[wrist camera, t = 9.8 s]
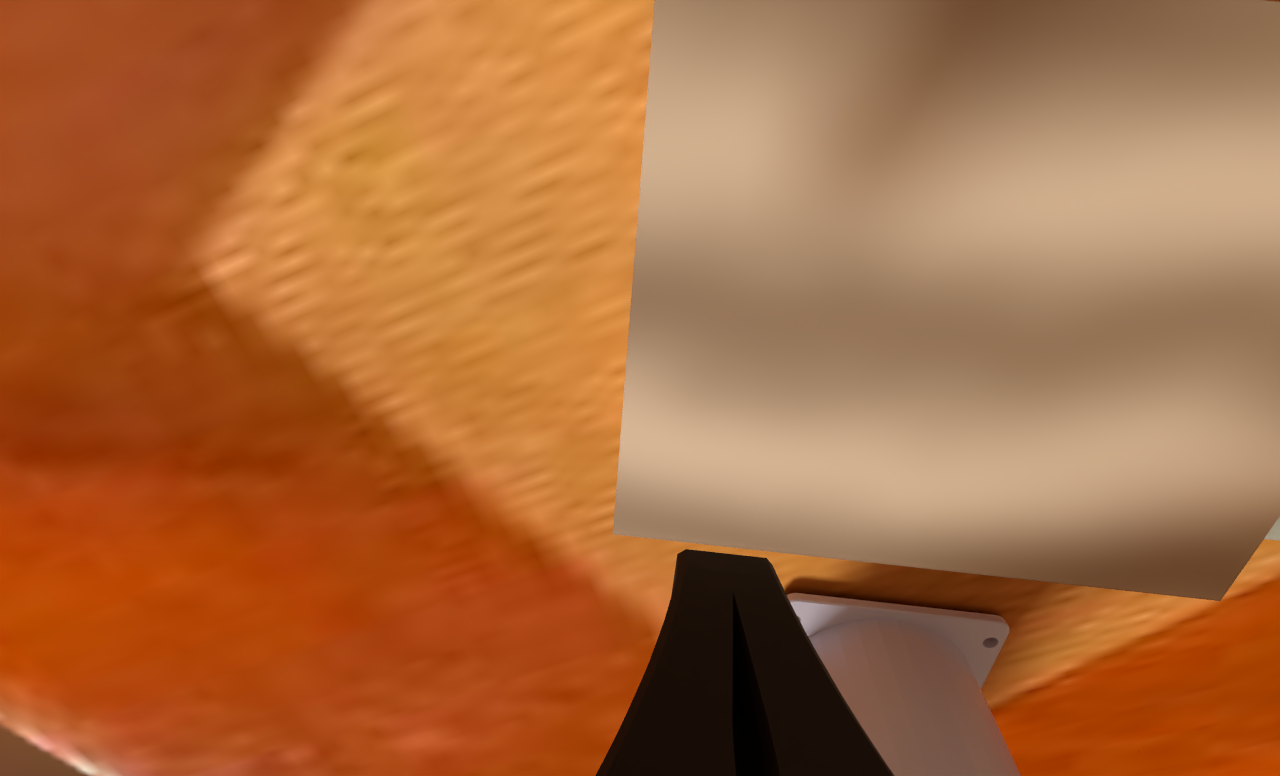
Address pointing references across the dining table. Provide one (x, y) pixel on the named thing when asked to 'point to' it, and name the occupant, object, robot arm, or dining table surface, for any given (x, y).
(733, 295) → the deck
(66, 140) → the dining table surface
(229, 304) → the dining table surface
